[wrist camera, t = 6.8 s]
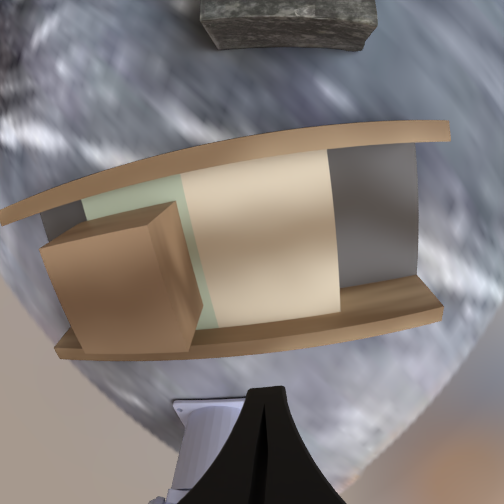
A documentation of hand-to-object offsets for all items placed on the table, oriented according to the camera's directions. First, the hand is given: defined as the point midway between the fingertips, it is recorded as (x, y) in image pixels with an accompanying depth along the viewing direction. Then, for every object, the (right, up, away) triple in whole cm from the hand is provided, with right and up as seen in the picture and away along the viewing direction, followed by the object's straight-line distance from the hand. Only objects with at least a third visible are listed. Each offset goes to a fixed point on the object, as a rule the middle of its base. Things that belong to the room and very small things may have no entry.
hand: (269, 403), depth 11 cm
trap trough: (-3, +7, +8) cm, 11 cm away
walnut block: (-7, +5, +5) cm, 10 cm away
